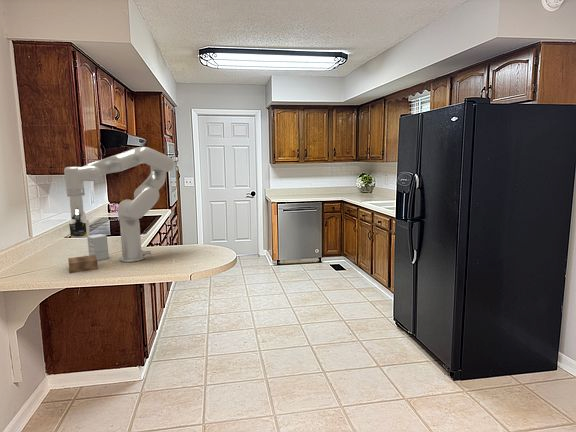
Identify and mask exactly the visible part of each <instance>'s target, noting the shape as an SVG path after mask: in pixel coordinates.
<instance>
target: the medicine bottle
mask: <svg viewBox="0 0 576 432" xmlns="http://www.w3.org/2000/svg"><path fill="white" fill-rule="evenodd" d="M75 215H76V214H75ZM75 215H74V216H73V218H72V217H71V216H70V217H71V222H69V226H68V227H69V233H70V239H73V238H75V239H77V238H87V236H90V234H91V230H90V221H89V219H86V211H84V210H83V216H82V217H81V219H82V223H83V230H82V231H76V229H75ZM79 216H80V215H79Z"/></svg>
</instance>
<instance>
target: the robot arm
mask: <svg viewBox="0 0 576 432" xmlns="http://www.w3.org/2000/svg"><path fill="white" fill-rule="evenodd" d="M141 164H146V165H148V166H149V167H150V174H149V175H148V177H147V178H146V179H145V180H144V181H143V182H142V183H141V184H140V185H139V186H138V187H137V188H135V190H134V192H133V199H128V198H127V199H123V200H122V201H120V203H119V204H118V206H117V215H118V216H117V217H118V220H119V221H118V222H119V226H120V241H121V242H120V244H121V254H122V256H121V257H119V262H123V263H135V262H139V261H140V262H141V261H143V260H145V258H146V255H152V252H151V250H143V249H142V240H141V226H140V225H141V223H140V220H139V219H142V218H143V217H144V216H145V215H146V214H147V213H148V212H149V211H150V210H152V209H153V207H154V206H155V205H156V204H157V202H158V201H159V200H160V191H159V190H161V188H162V187H163V186H164V184H165V182H166V179H167V177H166V176H167V175H166V174H167V173H168V172H170V171H172V170H173V168H174V165H175V164H174V160H173V159H172V157H170V156H169V155H167V154H165V153H162V152H159V151H158V150H156V149H153V148H151V147H147V146H139V147H133V148H131V149H129V150H128V149H127V150H126V151H122V152H121V153H117V154H114V155H111V156H108V157H105V158H103V159H100V160H96V161H93V162H89V163H87V164H85V165H83V166H66V167H65V168H64V170H63V173H64V181H65V189H66V197H69V207H70V217H72V218H73V216H74V215H75V214H76V215H75V229H76V231H82V230H83V223H82V219H81V217H82V216H83V211H84V201H83V197H84V196H85V195H86V194H85V185H84V182H97V181H98V180H100V179H101V177H102V176H105V175H107V174H112V173H113V174H114V173H120V172H123V171H125V170H129V169H131V168H134V167H137V166H139V165H141ZM79 215H80V216H79Z"/></svg>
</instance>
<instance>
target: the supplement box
mask: <svg viewBox="0 0 576 432" xmlns="http://www.w3.org/2000/svg"><path fill="white" fill-rule="evenodd" d="M86 239H87V246H88V247H87V248H88V256H90V255H95V256H96V258H97V262H98V261H102V260H106V259H110V258H109V257H110V255H109V244H108V235H107V234H106V235H105V234H101V233H99V234H93V235H88V236H87V237H86Z"/></svg>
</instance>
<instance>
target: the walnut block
mask: <svg viewBox="0 0 576 432" xmlns="http://www.w3.org/2000/svg"><path fill="white" fill-rule="evenodd" d="M98 267H99V265H98V261H97V258H96V256H95V255H90V256H89V255H83V256H76V257H68V270H69V274H74V273H81V272H91V271H97V270H98V269H99V268H98Z"/></svg>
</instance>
